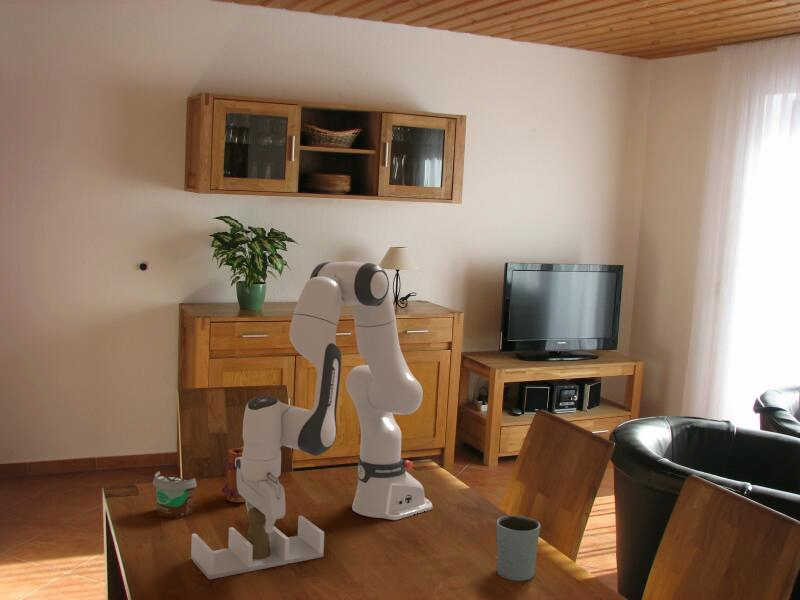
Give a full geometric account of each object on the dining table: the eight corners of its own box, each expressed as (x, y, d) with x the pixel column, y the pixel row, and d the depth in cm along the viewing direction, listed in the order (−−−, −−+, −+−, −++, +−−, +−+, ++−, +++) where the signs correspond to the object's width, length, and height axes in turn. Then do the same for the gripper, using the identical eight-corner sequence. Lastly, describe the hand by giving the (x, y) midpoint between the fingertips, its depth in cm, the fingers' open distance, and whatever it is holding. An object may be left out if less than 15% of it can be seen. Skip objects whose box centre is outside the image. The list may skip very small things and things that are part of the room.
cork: (275, 552, 205) (277, 507, 204) (260, 561, 200) (262, 514, 199) (254, 546, 208) (256, 502, 207) (239, 555, 203) (240, 509, 201)
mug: (245, 507, 236) (247, 453, 234) (217, 504, 238) (218, 450, 236) (264, 490, 250) (266, 439, 249) (237, 487, 252) (239, 436, 250)
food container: (142, 514, 228) (142, 477, 226) (157, 507, 233) (157, 471, 232) (181, 523, 223) (182, 485, 222) (196, 515, 229) (196, 478, 228)
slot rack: (301, 538, 217) (302, 515, 216) (323, 556, 207) (324, 532, 206) (191, 559, 202) (191, 534, 201) (209, 579, 192) (209, 553, 191)
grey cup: (507, 584, 196) (510, 533, 195) (485, 566, 206) (488, 517, 204) (545, 578, 200) (549, 528, 199) (522, 561, 210) (525, 512, 208)
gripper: (293, 478, 195) (291, 538, 196) (256, 453, 212) (255, 508, 213) (267, 482, 191) (265, 543, 193) (232, 456, 208) (231, 512, 210)
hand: (260, 524), depth 203 cm, fingers open, 8 cm apart
